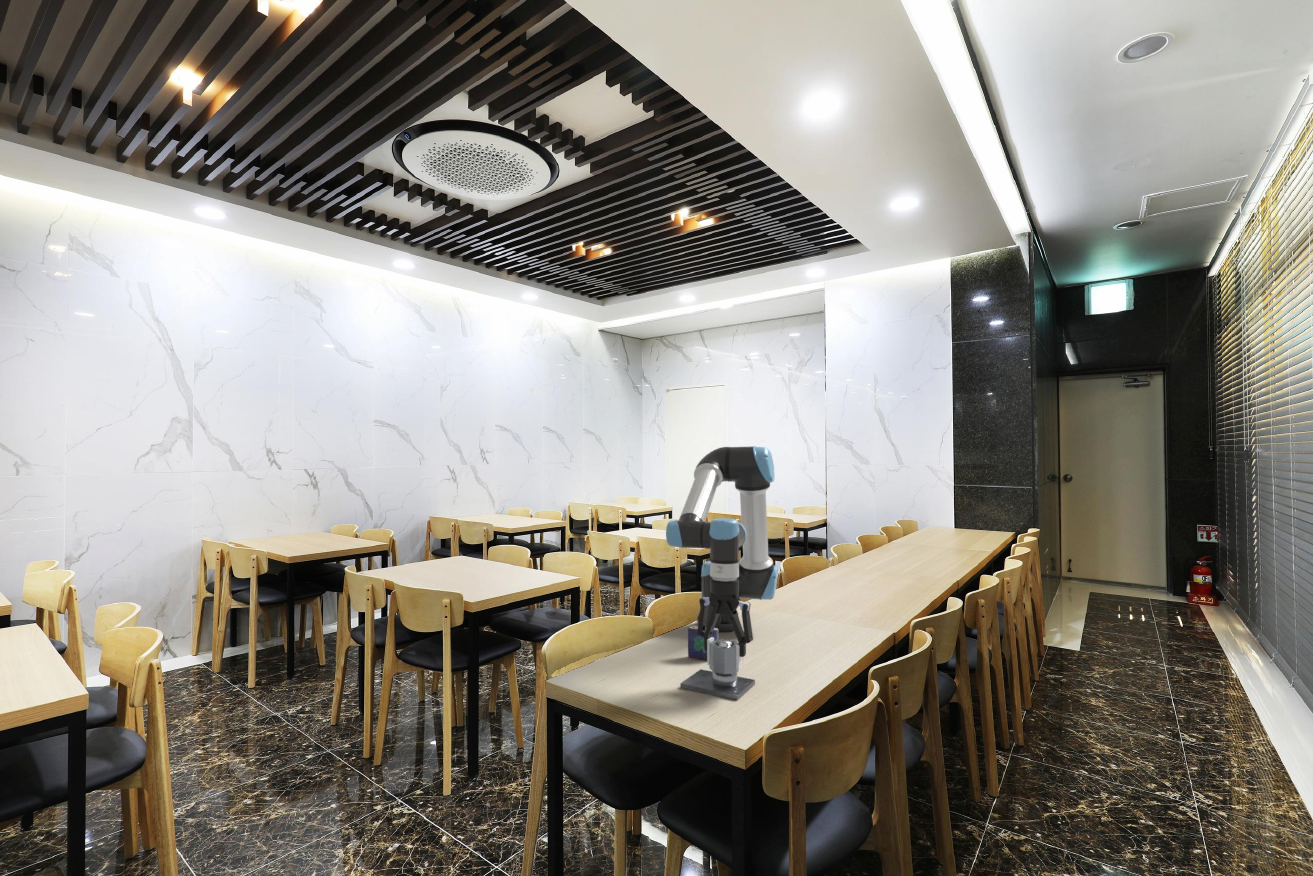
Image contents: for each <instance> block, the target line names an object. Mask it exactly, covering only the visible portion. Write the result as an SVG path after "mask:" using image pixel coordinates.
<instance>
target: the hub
mask: <svg viewBox="0 0 1313 876" xmlns="http://www.w3.org/2000/svg"><path fill="white" fill-rule="evenodd" d="M720 640H729V641H731V646H729V647H722V646H719V641H720ZM737 643H739V642H738V641H736V640H732V639H726V638H722V639H721V638H720V639H718V640H714V641H712V642H710V643H709V665H708V667H709V669H710V671H712V672H715V673H720V674H733V673H737V674H738V672H739V671H740V670H736V644H737Z"/></svg>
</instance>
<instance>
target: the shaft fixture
mask: <svg viewBox="0 0 1313 876" xmlns="http://www.w3.org/2000/svg"><path fill="white" fill-rule="evenodd" d="M719 640H720V641H719V646H722V647H729V646H731V641H729V640H730V639H727V640H721V639H719ZM679 684H680V686H679V689H683V690H688V691H693V692H698V693H702V694H707V695H710V696H715V697H719V698H720V697H721V698H724V699H730V700H735V701H738V700H739V699H741V698H742V697H743V696H744V695H745V694H746V693H748V691H750V690H751V689H752V688H753V687H754V686H755V685H756V679H753V678H747V677H742V676H738V672H737V673H733V674H720V673H715V672H713V671H712V670H706V669H701V668H700V669H699V670H697V671H696V672H694V673H693V674H691V675H690V676H689V677H688V678H685V679H684V680H683V681H682V682H681V683H679Z"/></svg>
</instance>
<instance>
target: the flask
mask: <svg viewBox="0 0 1313 876" xmlns="http://www.w3.org/2000/svg"><path fill="white" fill-rule="evenodd" d="M705 631H706V630H705ZM697 632H698V626H697V625H695V624H694V625H692V626H689V627H688V629H687V658H688V659H691V660H699V661H700V660H705V661H707V651H705V649H704V637H703V636H701V635H698V634H697ZM719 633H720V632H719V630H718V629H717V628H714V630H713V632H712V636H711V637H714V640H719Z"/></svg>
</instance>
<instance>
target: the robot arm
mask: <svg viewBox="0 0 1313 876" xmlns="http://www.w3.org/2000/svg"><path fill="white" fill-rule="evenodd" d="M773 459H774V458H773V456H772V453H771V450H770V449H769V448H768V447H764V446H722V447H718V448H716V449H714V450H712V451H710V452H709V453H707V454H705V456H703V458H701V459H700V461H699V462H698V463H697V465H696V466H695V469H694V472H693V478H694V480H693V483H692V485H691V488H690V490H689V493H688V496H687V498H686V501H685V503H684V506H683V508H682V511H681V514H680V516H679V519H678V520H677V519H674V520H670V521H668V523H667V525H666V527H665V528H666V529H665V540H666V543H667V545H668V546H669V547H673V548H675V547H676V548H681V549H683V548H685V549H687V548H689V549H706V550H707V549H708V550H709V555H710V556H709V557H710V558H709V559H710V560H707V561H705V562H704V563H703V564H702V565H701V574H700V577H701V598H699V600H698V601H699V606H700V609H699V611H698V614H697V618H696V627H697V626H698V632H697V634H698V635H701V636H703V637H704V649H705V651H707V660H706V662H707V664H706V665H708V666H709V643H710V642H712V641H714V637H711V636H712V632H713V630H714V628H717V629H718V630H719V632H718V633H723V632H724V633H725V632H732V631H734V633H735V636H736V639H737V642H738V643H737V644H736V670H739V671H740V670H741V669H743V668H744V665H743V664H744V660H743V659H744V658H745V656H746V655H747V644H749V643H752V641H753V640H754V634H753V628H752V621H751V614H750V611H751V610H750V609H751V605H752V604H751V602H745V601H741V599H747V600H748V599H749V600H760V601H762V600H767V601H768V600H773V599H774V598H775V595H776V589H777V583H778V574H779V566H777V565H775V564H774V561H773V559H772V558H771V557H770V555H769V537H768V518H767V517H768V516H767V514H768V513H767V491H768V490H769V488H770V487H771V484H772V483H773V482H775V466H774V465H775V464H774V460H773ZM722 482H734V488H735V490H737V491H738V492H739V499H740V519H741V521H740V522H739V521H738V520H737V519H735V518H731V517H729V518H728V517H725V518H724V517H721V518H718V517H717V518H713V519H711V521H706V519H707V517H708V514H709V512H710V509H711V507H712V506H711V505H712V503H713V499H714V497H715V493H716V490H717V488H718V487H719V486H721V484H722ZM741 547H742V554H743V555H742V557H741V558H739V556H740V555H739V552H740V551H739V550H740V548H741ZM738 607H739V608H740V609H739V610H740V611H741V618H742V624H741V620H740V617H739V612H738V610H737V609H738ZM705 630H706V631H705Z"/></svg>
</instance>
